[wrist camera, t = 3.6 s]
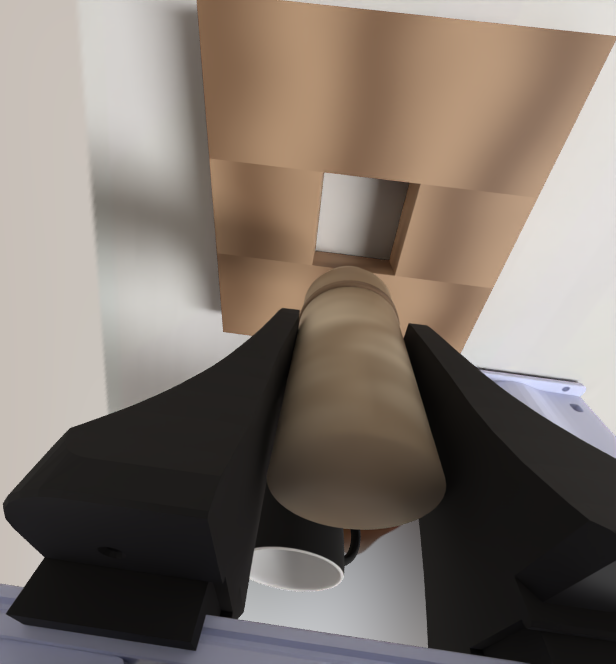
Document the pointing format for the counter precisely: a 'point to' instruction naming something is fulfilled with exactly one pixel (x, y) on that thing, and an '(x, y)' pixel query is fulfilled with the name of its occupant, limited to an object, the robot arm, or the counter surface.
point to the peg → (353, 413)
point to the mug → (298, 550)
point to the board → (380, 146)
